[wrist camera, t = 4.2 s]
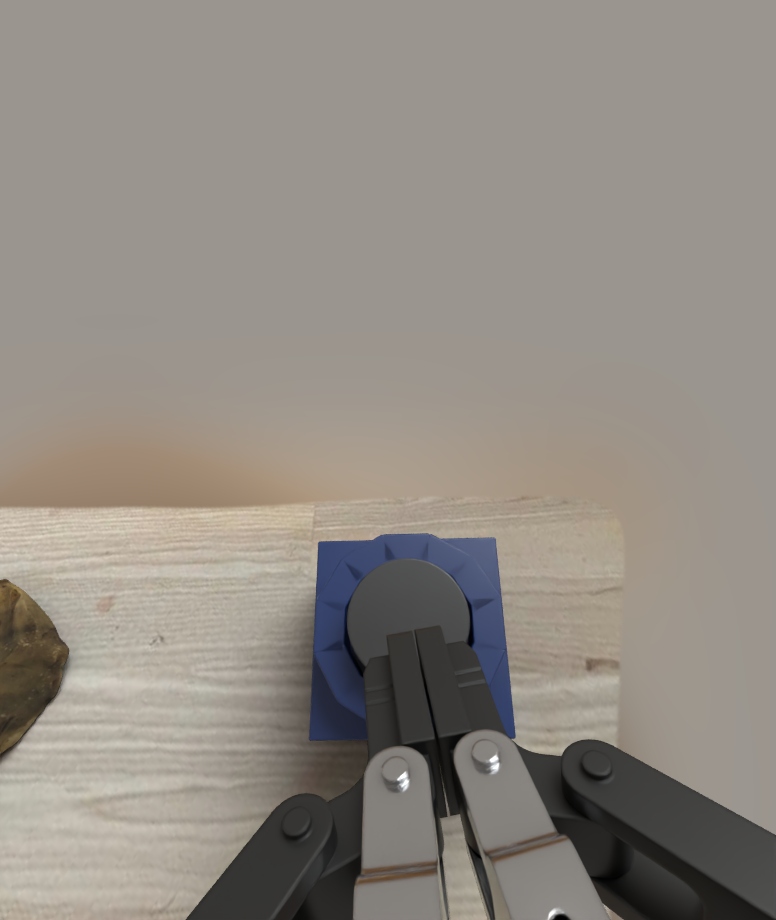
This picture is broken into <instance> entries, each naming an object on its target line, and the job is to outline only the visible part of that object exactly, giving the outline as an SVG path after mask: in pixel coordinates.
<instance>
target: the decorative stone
mask: <svg viewBox="0 0 776 920" xmlns="http://www.w3.org/2000/svg"><path fill="white" fill-rule="evenodd" d="M68 654H69V648H68V646H67V645H66V644H65V643H64V642H63V641H62V640H61V639H60V638H59V635H58V633H57V630H56V628H55V626H54V624H53V623H52V621H51V620H50V618H49V617H48V616H47V615H46V614H45V612H44V611H43V610H42V609H41V608H40V606H39V605H38V604H37V603H36V602H35V601H34V600H33V599H32V598H31V597H30V596H29V595H28V594H27V593H25V592H24V591H23V590H22V589H20V588H19V587H17V586H16V585H14V584H12V583H11V582H9V581H8V580H7V579H3V580H0V754H1V753H2V752H4V751H5V750H7V749H8V748H10V747H11V746H13V745H14V744H15V743H16V742H17V741H18V740H19V739H20V738H21V737H22V735H23V734H24V732H25V731H26V730H27V729H28V728H29V727H30V726H31V725H32V723H33V722H34V721H35V719H36V718H37V716H38V715H39V714H40V713H41V712H42V711H43V710H44V708H45V707H46V705H47V703H48V702H49V701H50V700H51V699H52V698H54V696H55V695H56V693H57V691H58V689H59V686H60V683H61V679H62V671H63V666H64V664H65V662H66V660H67V657H68Z"/></svg>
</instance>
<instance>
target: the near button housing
mask: <svg viewBox="0 0 776 920" xmlns="http://www.w3.org/2000/svg"><path fill="white" fill-rule="evenodd" d="M403 558H414V559H420V560H424V561H427V562H430V563H432V564H434V565H437V566H438V567H440V568H441V569H443V570H444V571H445V572H447V573H448V574H449V575H450V576H451V577H452V578H453V579H454V580H455V581H456V583H457V584H458V585H459V587H460V589H461V590H462V592H463V594H464V596H465V599H466V601H467V605H468V609H469V615H470V630H469V636H468V640H467V643H466V644H467V645H469V646H470V647H471V648H472V649H473V650H474V651H475V652H476V654H477V657H478V659H479V662H480V665H481V667H482V670H483V673H484V675H485V678H486V682H487V683H488V686H489V689H490V692H491V694H492V697H493V700H494V702H495V705H496V708H497V710H498V713H499V716H500V718H501V721H502V724H503V727H504V729H505V731H506V733H507V734H508V736H509V737H510V738H511V739H514V738H515V737H516V735H515V726H514V716H513V706H512V696H511V686H510V676H509V666H508V657H507V647H506V637H505V627H504V617H503V607H502V597H501V588H500V578H499V568H498V558H497V548H496V539H495V538H452V539H439V538H438V537H436V536H434V535H432V534H430V535H429V534H428V533H426V534H385V535H380V536H379V537H377V538H375V539H374V540H366V541H323V542H319V543H318V561H317V583H316V603H315V624H314V645H313V668H312V690H311V711H310V732H309V740H310V741H326V740H367V726H366V711H365V696H364V693H365V692H364V681H363V673H364V670H365V668H366V667H365V666H364V665H363V663H362V662H361V661H360V660H359V658H358V657H357V655H356V653H355V652H354V650H353V647H352V645H351V642H350V639H349V635H348V629H347V613H348V607H349V603H350V600H351V597H352V595H353V593H354V591H355V589H356V587H357V586H358V584H359V583H360V582H361V580H362V579H363V578H364V577H365V576H366V575H367V574H368V573H369V572H370V571H372V570H373V569H375V568H376V567H378V566H379V565H381V564H383V563H386V562H389V561H391V560H396V559H403Z"/></svg>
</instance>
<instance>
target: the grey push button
mask: <svg viewBox="0 0 776 920" xmlns="http://www.w3.org/2000/svg"><path fill="white" fill-rule="evenodd" d="M437 625H440V626H441V628H442V632H443V635H444V638H445V642H446V644H448V643H454V642H459V641H464V642H465V643H467V640H468V636H469V630H470V615H469V609H468V605H467V601H466V599H465V596H464V594H463V592H462V590H461V589H460V587H459V585H458V584H457V583H456V581H455V580H454V579H453V578H452V577H451V576H450V575H449V574H448V573H447V572H445V571H444V570H443V569H441V568H440V567H438V566H437V565H434V564H432V563H430V562H427V561H424V560H420V559H414V558H403V559H396V560H391V561H389V562H386V563H383V564H381V565H379V566H378V567H376V568H375V569H373V570H372V571H370V572H369V573H368V574H367V575H366V576H365V577H364V578H363V579H362V580H361V582H360V583H359V584H358V586H357V587H356V589H355V591H354V593H353V595H352V597H351V600H350V603H349V607H348V613H347V629H348V635H349V639H350V642H351V645H352V647H353V650H354V652H355V653H356V655H357V657H358V658H359V660H360V661H361V662H362V663H363V665H364V666H365V667H366V666H367V664H368V661H369V659H370V658H374V657H380V656H385V655H389V653H388V646H387V639H386V635H389V634H394V633H400V632H405V631H410V630H412V632H413V637H414V642H415V646H416V651H417V645H416V639H415V632H414V630H415V629H421V628H426V627H431V626H437ZM417 656H418V651H417ZM418 660H419V658H418ZM419 665H420V664H419Z"/></svg>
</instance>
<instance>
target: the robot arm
mask: <svg viewBox="0 0 776 920" xmlns="http://www.w3.org/2000/svg"><path fill="white" fill-rule="evenodd" d="M414 632H415V639H416V645H417V651H418V656H417V651H416V646H415V642H414V637H413V632H412V630H410V631H405V632H400V633H394V634H389V635H386V639H387V646H388V653H389V655H385V656H380V657H374V658H370V659H369V661H368V664H367V666H366V668H365V670H364V673H363V681H364V692H365V693H364V696H365V711H366V726H367V741H368V764H367V767H366V769H365V772H364V774H363V776H362V777H361V779H360V780H359V781H358V782H357V783H356V784H355V786H353V787H352V788H351V789H350V790H348V791H347V792H345V793H344V794H342V795H340V796H338V797H336V798H334V799H332V800H331V801H329V802H326V801H325V800H324V799H323V798H321V797H320V796H318V795H315V794H307V793H305V794H298V795H295V796H292V797H290V798H288V799H287V800H285V801H283V802H282V803H281V804H280V805H278V806H277V807H276V808H275V810H274V811H273V812H272V813H271V814H270V816H269V817H268V818H267V819H266V820H265V822H264V823H263V824H262V825H261V827H260V828H259V829H258V830H257V832H256V833H255V834H254V835H253V837H252V838H251V839H250V840H249V842H248V843H247V844H246V845H245V847H244V848H243V849H242V850H241V852H240V853H239V854H238V855H237V856H236V858H235V859H234V860H233V861H232V863H231V864H230V865H229V866H228V868H227V869H226V870H225V871H224V873H223V874H222V875H221V876H220V878H219V879H218V880H217V881H216V883H215V884H214V885H213V886H212V888H211V889H210V890H209V891H208V893H207V894H206V895H205V896H204V897H203V899H202V900H201V901H200V902H199V904H198V905H197V906H196V907H195V909H194V910H193V911H192V912H191V914H190V915H189V916H188V917H187V919H186V920H450V912H449V903H448V894H447V885H446V876H445V867H444V858H443V850H444V840H443V833H442V827H441V821H440V818H444V817H448V816H447V810H446V804H445V797H444V791H443V785H442V778H443V783H444V788H445V792H446V797H447V802H448V807H449V811H450V816H452V815H457V814H460V817H461V821H462V825H463V830H464V835H465V842H466V848H467V853H468V857H469V860H470V863H471V866H472V870H473V873H474V876H475V880H476V883H477V886H478V890H479V893H480V896H481V899H482V903H483V906H484V909H485V913H486V916H487V919H488V920H610V918H609V916H608V914H607V912H606V909H605V907H604V905H606V906H607V907H608V908H609V909H611V910H612V911H613V912H615V913H616V914H617V915H618V916H620V917H621V918H622V919H624V920H776V835H775V834H772V833H771V832H769V831H767V830H765V829H764V828H762V827H760V826H758V825H756V824H754V823H752V822H751V821H749V820H747V819H745V818H744V817H742V816H740V815H738V814H736V813H734V812H733V811H731V810H729V809H727V808H725V807H723V806H722V805H720V804H718V803H716V802H714V801H713V800H710V799H709V798H707V797H705V796H703V795H702V794H700V793H698V792H696V791H694V790H692V789H691V788H689V787H687V786H685V785H683V784H682V783H680V782H678V781H676V780H674V779H672V778H671V777H669V776H667V775H665V774H663V773H661V772H660V771H658V770H656V769H654V768H652V767H651V766H649V765H647V764H645V763H643V762H641V761H640V760H638V759H636V758H634V757H632V756H631V755H629V754H627V753H625V752H623V751H621V750H620V749H618V748H616V747H614V746H612V745H610V744H608V743H605V742H602V741H598V740H589V739H588V740H581V741H577V742H575V743H572V744H571V745H570V746H568V747H567V748H566V749H565V751H564V752H563V754H562V756H554V755H545V754H538V753H534V752H531V751H528V750H526V749H523V748H522V747H520V746H518V745H517V744H516V743H515V742H513V741H512V739H511V738H510V737H509V736H508V734H507V733H506V731H505V729H504V727H503V724H502V721H501V718H500V716H499V713H498V710H497V708H496V705H495V702H494V700H493V697H492V694H491V692H490V689H489V686H488V683H487V682H486V678H485V675H484V673H483V670H482V667H481V665H480V662H479V659H478V657H477V654H476V652H475V651H474V650H473V649H472V648H471V647H470V646H469V645H467V644H466V643H465V642H464V641H459V642H454V643H448V644H446V642H445V638H444V635H443V632H442V628H441V626H440V625H437V626H431V627H426V628H421V629H415V630H414ZM418 658H419V660H418ZM419 664H420V665H419ZM439 764H440V766H439ZM440 769H441V772H440ZM441 773H442V778H441ZM603 904H604V905H603Z"/></svg>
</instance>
